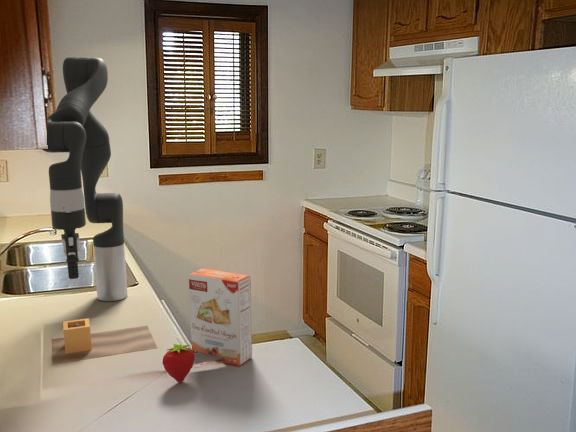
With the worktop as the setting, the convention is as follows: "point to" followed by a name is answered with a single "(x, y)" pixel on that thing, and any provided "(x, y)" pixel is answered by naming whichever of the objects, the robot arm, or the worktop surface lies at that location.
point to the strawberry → (178, 361)
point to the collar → (77, 336)
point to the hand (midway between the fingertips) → (73, 273)
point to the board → (106, 344)
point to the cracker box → (221, 315)
